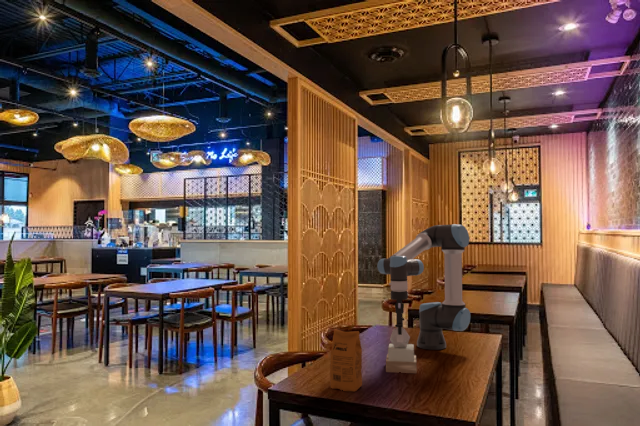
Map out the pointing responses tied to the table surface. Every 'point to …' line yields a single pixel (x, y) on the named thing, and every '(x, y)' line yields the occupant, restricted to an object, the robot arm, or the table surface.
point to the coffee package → (346, 361)
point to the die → (399, 344)
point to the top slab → (401, 353)
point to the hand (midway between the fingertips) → (400, 338)
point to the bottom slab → (401, 366)
